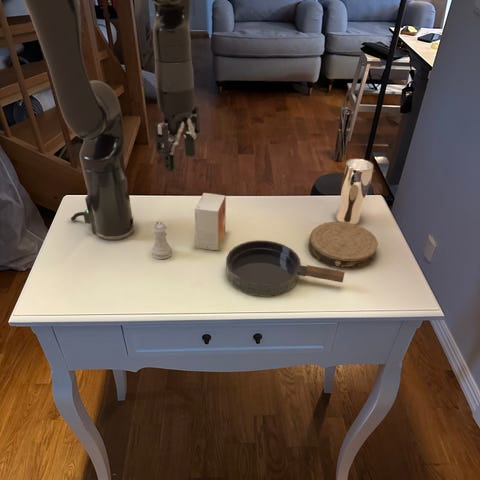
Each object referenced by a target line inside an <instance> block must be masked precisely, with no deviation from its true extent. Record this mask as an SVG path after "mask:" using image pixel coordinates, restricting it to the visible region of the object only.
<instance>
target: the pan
mask: <svg viewBox="0 0 480 480" xmlns="http://www.w3.org/2000/svg"><path fill="white" fill-rule="evenodd" d="M301 265H302V264H301V258H300V257H299V255H298V254H297V253H296V252H295V251H294V250H293V249H292V248H290V247H288V246H287V245H285V244H282V243H279V242H276V241H270V240H259V239H257V240H250V241H249V240H248V241H246V242H242V243H240V244H238V245H236V246H234V247H232V249H231V250H229V252H228V253H227V255H226V261H225V274H226V277H227V280H228V281H229V282H230V283H231V285H232V286H233V287H235V288H237V289H238V290H240V291H242V292H244V293H247V294H249V295H255V296H265V297H267V296H268V297H269V296H275V295H280V294H284V293H286V292H288V291H289V290H291V289H293V288H294V287H295V286H296V284H297V283H298V282H299V278H300V275H298V274H299V270H300V267H301Z"/></svg>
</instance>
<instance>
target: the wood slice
mask: <svg viewBox="0 0 480 480" xmlns="http://www.w3.org/2000/svg"><path fill="white" fill-rule="evenodd" d="M378 246H379V242H378V239H377V237H376V236H375V235H374V234H373V233H372V232H371V231H369V230H368V229H367V228H366V227H363V226H360V225H358V224H351V223H347V222H339V221H329V222H328V221H327V222H324V223H322V224H319V225H317V226H316V227H314V228H312V230H311V232H310V234H309V239H308V252H309V253H310V255H311V256H312V258H314V260H316V261H318V263H321V264H322V265H325V266H326V267H329V268H332V269H335V270H336V269H337V270H341V271H343V270H345V271H353V270H361V269H363V268H365V267H368V266H370V265H371V264H372V263H373V261H374V260H375V257H376V253H377V249H378Z"/></svg>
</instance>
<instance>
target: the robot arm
mask: <svg viewBox="0 0 480 480" xmlns="http://www.w3.org/2000/svg"><path fill="white" fill-rule="evenodd" d="M151 2H153V9H154V22H153V27H152V28H153V29H152V44H153V55H154V79H155V87H156V89H155V90H156V98H157V108H158V109H159V111H160V112H161V113H162V114H163V121H162V122H155V123H154V140H155V152H156V154H159V155H163V162H164V168H165V170H166V171H168V172H175V171H176V170H177V168H176V155H175V150H176V146H178V145H179V143H180V139H182V137H184V154H185V155H186V156H187V157H191V158H193V157H195V156H196V139H197V135H200V133H201V122H200V108H199V106H198V105H196V95H195V94H196V93H195V74H194V66H193V59H192V39H191V31H190V30H191V29H190V18H191V0H151ZM23 3H24V5H25V7H26V9H27V12H28V14H29V16H30V19H31V22H32V25H33V29H34V30H35V32H36V36H37V39H38V42H39V45H40V47H41V50H42V53H43V55H44V58H45V61H46V64H47V67H48V70H49V74H50V77H51V81H52V84H53V88H54V91H55V96H56V99H57V102H58V106H59V109H60V112H61V114H62V118H63V120H64V122H65V124H66V125H67V127H68V129H69V130H70V131H71V132H72V134H74V135H75V136H76V137H77V138H80V139H81V140H83V143H82V145H81V148H80V150H79V160H80V161H79V162H80V165H81V170H82V174H83V179H84V182H85V187H86V192H87V195H86V196H85V197H84V200H85V201H84V202H85V205H86V210H84V211H80V212H79V211H78V212H76V213H74V214H73V215H72V216H71V217H70V218H71V219H70V220H71V221H76V219H77V218H78V217H81V216H82V217H83V219H84V223H85V224H88V225H90V227H91V232H92V234H95V235H96V236H97V237H98V238H100V239H102V240H107V241H119V240H123V239H125V238H128V237H130V236H131V235H132V234H133V233H134V232H135V229H136V228H135V221H134V218H135V217H134V216H133V211H132V204H131V198H130V197H131V196H130V192H129V186H128V185H129V183H128V178H127V172H126V164H125V159H124V153H125V147H126V140H125V131H124V130H125V129H124V121H123V113H122V107H121V104H120V100H119V98H118V96H117V93H116V92H115V91H114V89H112V87H110V86H109V85H108V84H107V83H105V82H103V81H101V80H97V79H96V80H90V79H89V78H90V77H89V76H88V75H89V74H88V72H87V69H86V66H85V61H84V57H83V49H82V48H83V46H82V45H83V43H82V10H81V4H80V0H23ZM193 124H194V125H195V126H194V125H193Z"/></svg>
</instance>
